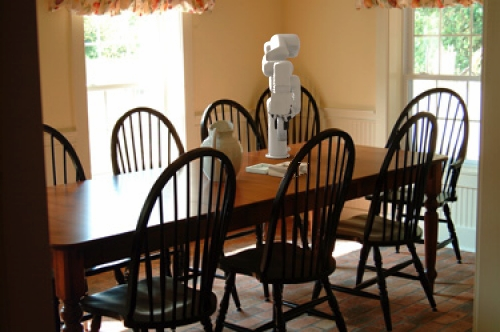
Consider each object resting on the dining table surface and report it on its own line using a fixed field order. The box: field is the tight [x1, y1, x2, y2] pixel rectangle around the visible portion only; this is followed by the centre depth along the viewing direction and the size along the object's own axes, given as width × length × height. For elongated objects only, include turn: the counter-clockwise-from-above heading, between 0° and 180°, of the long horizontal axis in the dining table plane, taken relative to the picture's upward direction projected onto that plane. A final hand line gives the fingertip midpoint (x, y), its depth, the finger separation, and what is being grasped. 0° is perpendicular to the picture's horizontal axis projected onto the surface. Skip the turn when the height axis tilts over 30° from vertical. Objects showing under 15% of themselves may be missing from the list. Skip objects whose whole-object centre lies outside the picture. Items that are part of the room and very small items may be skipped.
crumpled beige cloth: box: [268, 160, 308, 178], centre depth 343 cm, size 16×12×4 cm
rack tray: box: [245, 163, 274, 175], centre depth 351 cm, size 13×11×2 cm
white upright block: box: [277, 115, 288, 142], centre depth 340 cm, size 4×4×11 cm
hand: (281, 128), depth 340 cm, fingers closed on white upright block, 4 cm apart
